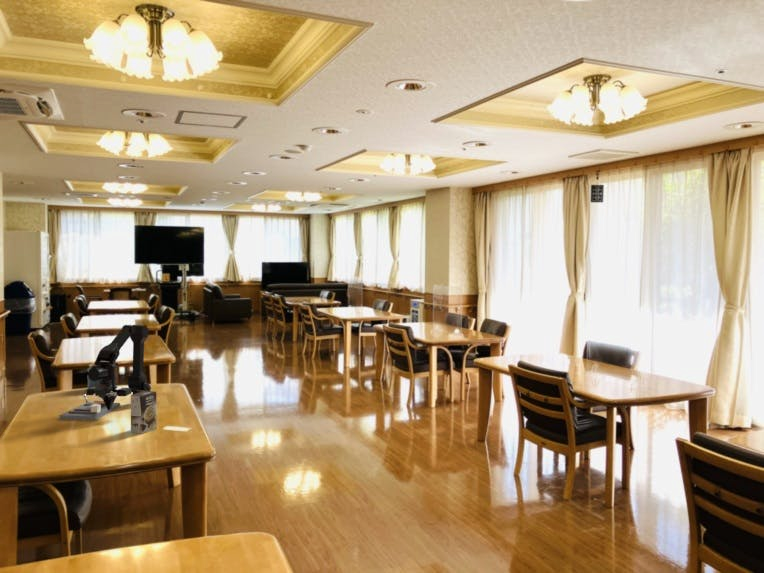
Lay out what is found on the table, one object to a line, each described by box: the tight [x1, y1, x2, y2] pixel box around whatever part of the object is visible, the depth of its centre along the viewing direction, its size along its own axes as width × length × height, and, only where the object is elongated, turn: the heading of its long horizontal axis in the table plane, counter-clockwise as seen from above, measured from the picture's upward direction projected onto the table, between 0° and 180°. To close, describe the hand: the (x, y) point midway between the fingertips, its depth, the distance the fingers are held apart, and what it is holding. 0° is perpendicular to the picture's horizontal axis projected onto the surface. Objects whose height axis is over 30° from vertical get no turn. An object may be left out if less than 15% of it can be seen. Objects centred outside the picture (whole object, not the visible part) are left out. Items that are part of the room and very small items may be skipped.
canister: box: [86, 361, 106, 389], centre depth 320 cm, size 13×13×18 cm
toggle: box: [82, 393, 89, 403], centre depth 283 cm, size 2×2×4 cm
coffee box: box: [130, 390, 158, 435], centre depth 251 cm, size 9×6×16 cm
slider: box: [91, 404, 101, 413], centre depth 270 cm, size 3×3×3 cm
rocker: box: [93, 400, 104, 403], centre depth 282 cm, size 4×7×1 cm, turn 175°
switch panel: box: [58, 401, 121, 422], centre depth 277 cm, size 16×23×3 cm
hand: (109, 409), depth 270 cm, fingers closed
